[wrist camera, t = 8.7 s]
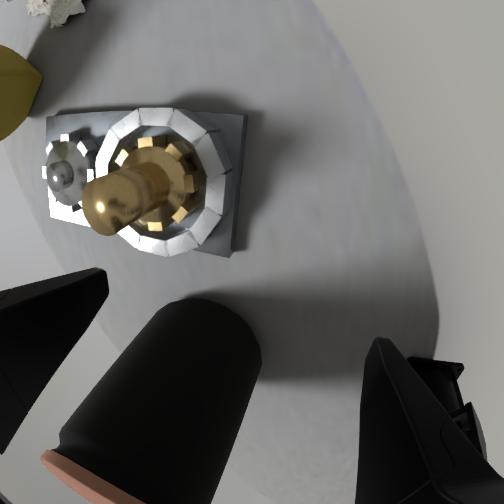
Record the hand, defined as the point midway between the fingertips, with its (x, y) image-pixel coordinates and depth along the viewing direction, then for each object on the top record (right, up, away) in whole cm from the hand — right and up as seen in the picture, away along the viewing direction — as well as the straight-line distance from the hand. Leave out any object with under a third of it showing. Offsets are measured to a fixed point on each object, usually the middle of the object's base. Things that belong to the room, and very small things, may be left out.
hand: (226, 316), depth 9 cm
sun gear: (-14, +9, +14) cm, 22 cm away
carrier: (-9, +8, +13) cm, 18 cm away
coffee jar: (-3, -6, +18) cm, 20 cm away
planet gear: (-6, +7, +12) cm, 15 cm away
